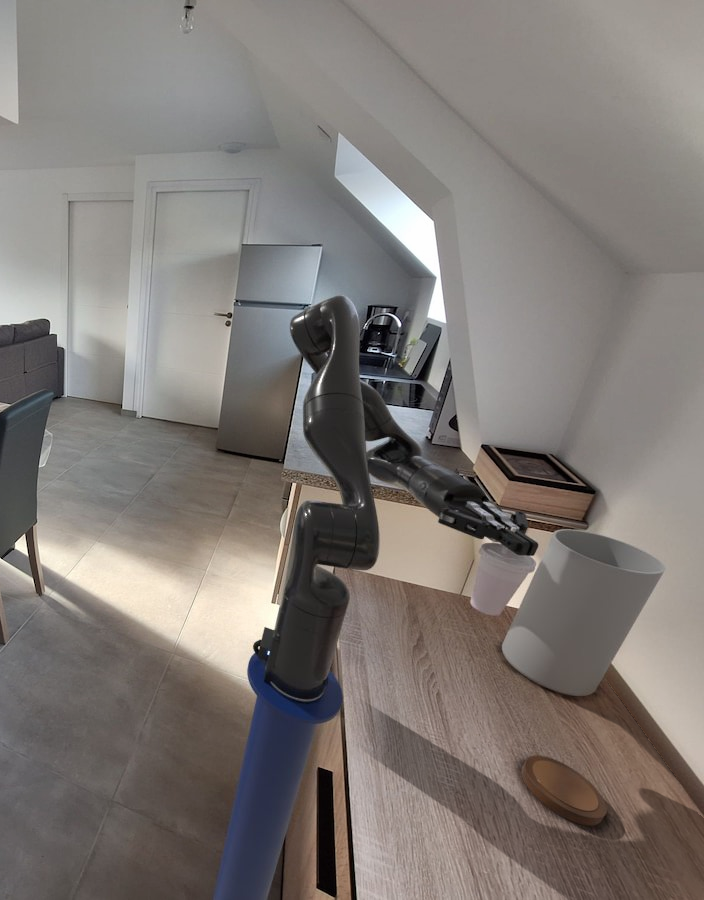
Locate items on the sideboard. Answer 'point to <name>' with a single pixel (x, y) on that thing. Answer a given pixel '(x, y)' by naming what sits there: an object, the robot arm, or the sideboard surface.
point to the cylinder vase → (579, 610)
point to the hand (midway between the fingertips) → (529, 550)
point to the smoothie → (498, 577)
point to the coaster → (563, 790)
